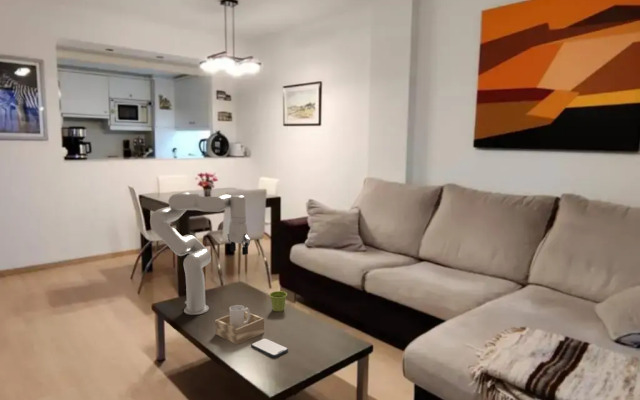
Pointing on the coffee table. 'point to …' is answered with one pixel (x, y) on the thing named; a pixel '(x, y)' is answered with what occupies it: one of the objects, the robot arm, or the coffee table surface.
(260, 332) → the open wooden crate
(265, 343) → the smartphone
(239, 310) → the mug
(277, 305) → the plant pot
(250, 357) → the coffee table surface
